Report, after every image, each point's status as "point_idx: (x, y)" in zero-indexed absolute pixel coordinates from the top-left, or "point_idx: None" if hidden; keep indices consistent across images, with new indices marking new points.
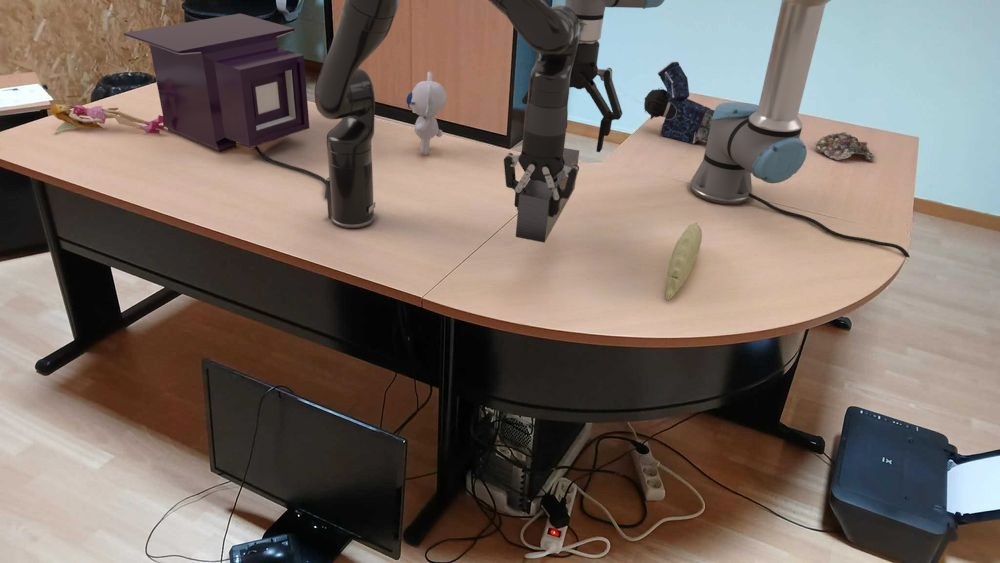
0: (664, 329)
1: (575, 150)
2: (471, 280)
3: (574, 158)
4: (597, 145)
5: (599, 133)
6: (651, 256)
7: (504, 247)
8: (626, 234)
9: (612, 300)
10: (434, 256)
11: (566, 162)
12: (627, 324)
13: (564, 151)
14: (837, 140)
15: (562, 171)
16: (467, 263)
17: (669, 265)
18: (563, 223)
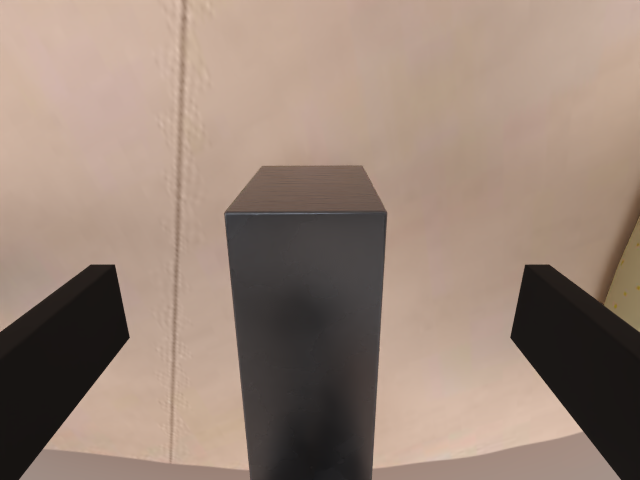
0: (572, 421)
1: (365, 225)
2: (218, 403)
3: (379, 329)
4: (533, 365)
5: (588, 431)
6: (574, 179)
7: (225, 275)
8: (511, 78)
9: (481, 376)
10: (114, 358)
11: (351, 387)
12: (508, 428)
13: (308, 264)
14: None
15: (355, 472)
16: (184, 358)
17: (629, 324)
18: (323, 88)
